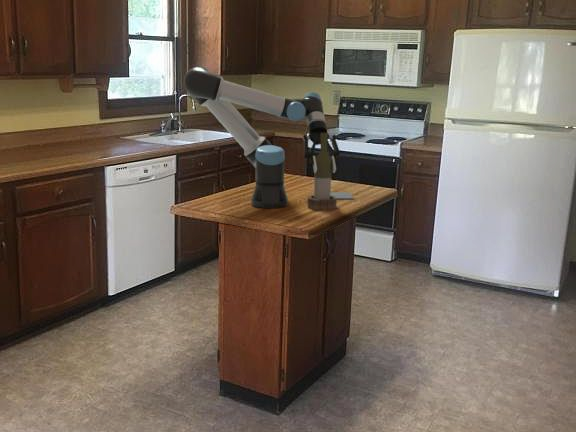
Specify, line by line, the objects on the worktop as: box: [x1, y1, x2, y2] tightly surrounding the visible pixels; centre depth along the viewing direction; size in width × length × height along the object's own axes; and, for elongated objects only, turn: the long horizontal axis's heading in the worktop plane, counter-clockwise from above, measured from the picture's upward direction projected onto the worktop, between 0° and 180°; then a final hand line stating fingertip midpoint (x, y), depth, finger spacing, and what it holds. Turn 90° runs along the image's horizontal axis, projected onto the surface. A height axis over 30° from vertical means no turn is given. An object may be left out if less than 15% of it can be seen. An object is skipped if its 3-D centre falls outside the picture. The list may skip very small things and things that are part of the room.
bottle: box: [313, 132, 333, 200], centre depth 257 cm, size 7×7×30 cm
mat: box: [330, 191, 355, 201], centre depth 281 cm, size 12×12×1 cm
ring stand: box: [307, 194, 338, 211], centre depth 260 cm, size 11×11×4 cm
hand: (325, 171), depth 254 cm, fingers closed on bottle, 7 cm apart
